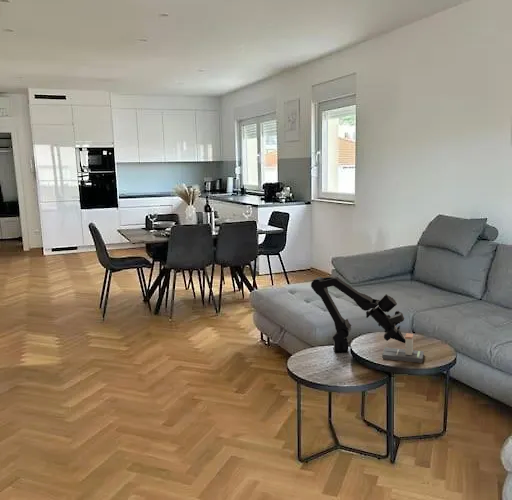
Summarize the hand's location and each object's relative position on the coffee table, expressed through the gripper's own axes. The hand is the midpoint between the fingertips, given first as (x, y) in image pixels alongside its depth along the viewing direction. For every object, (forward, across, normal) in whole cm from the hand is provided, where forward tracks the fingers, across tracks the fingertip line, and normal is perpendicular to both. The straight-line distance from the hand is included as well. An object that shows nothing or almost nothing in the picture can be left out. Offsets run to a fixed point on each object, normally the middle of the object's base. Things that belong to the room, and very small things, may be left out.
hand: (405, 342), depth 234 cm
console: (+4, 0, +6) cm, 7 cm away
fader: (+5, 0, +2) cm, 5 cm away
